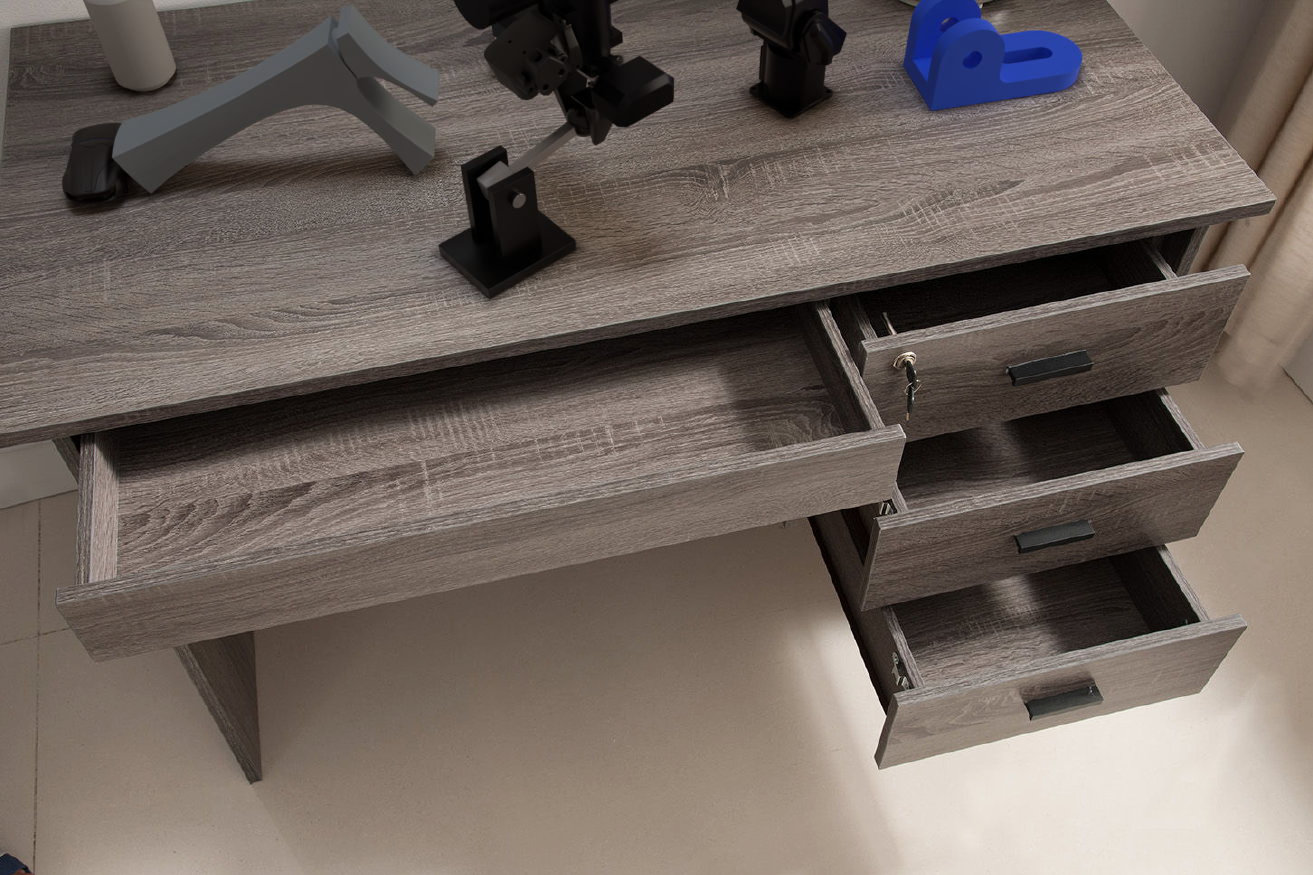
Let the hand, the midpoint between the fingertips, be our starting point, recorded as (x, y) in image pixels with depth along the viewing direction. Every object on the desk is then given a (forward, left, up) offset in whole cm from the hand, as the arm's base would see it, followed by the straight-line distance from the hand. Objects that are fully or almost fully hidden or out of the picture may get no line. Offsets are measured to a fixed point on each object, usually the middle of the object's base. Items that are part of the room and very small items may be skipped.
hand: (586, 134), depth 112 cm
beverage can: (+48, +23, -9) cm, 54 cm away
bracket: (-12, -46, -9) cm, 48 cm away
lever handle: (0, +5, -1) cm, 5 cm away
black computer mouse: (+36, +34, -9) cm, 50 cm away
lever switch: (0, +10, -9) cm, 13 cm away
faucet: (+24, +19, -9) cm, 32 cm away
